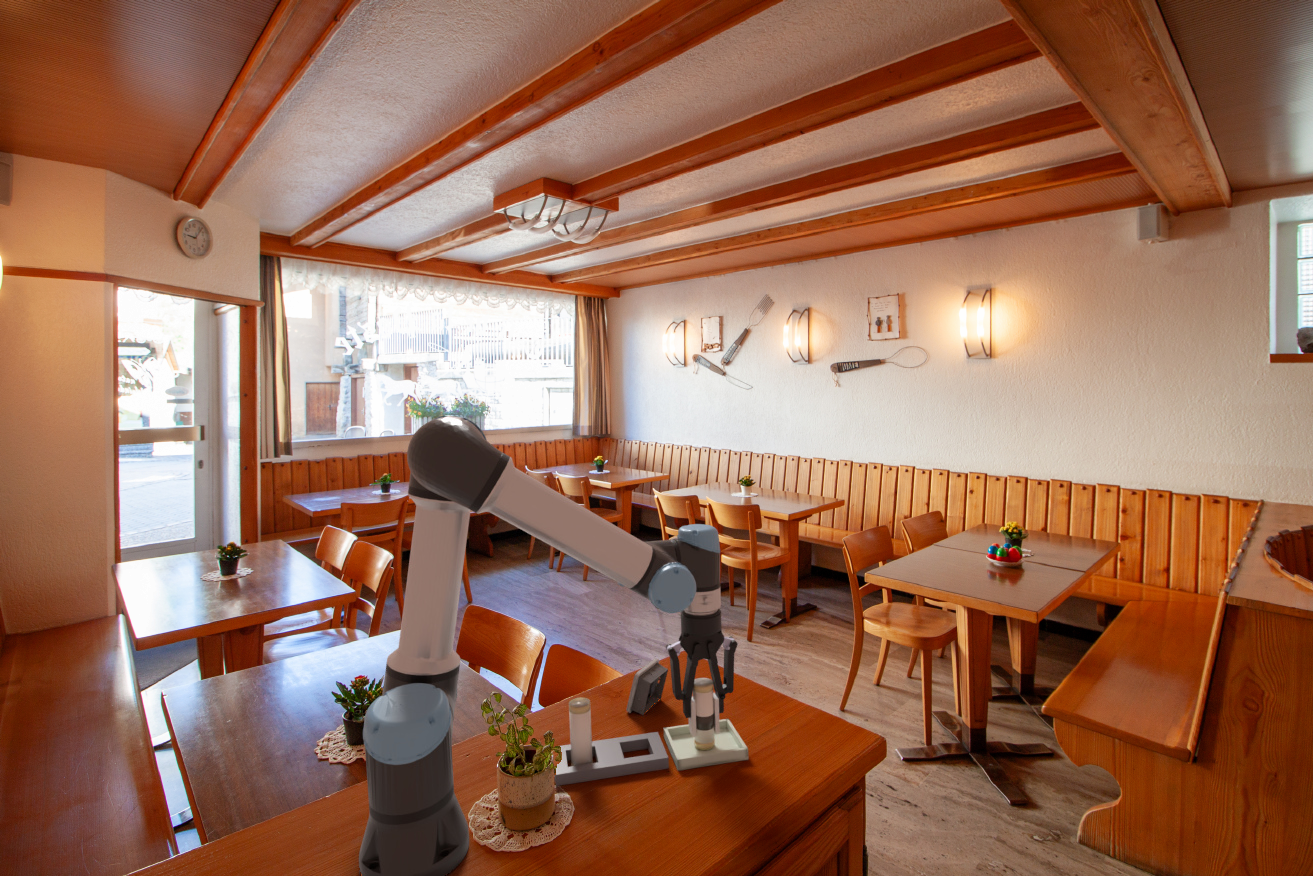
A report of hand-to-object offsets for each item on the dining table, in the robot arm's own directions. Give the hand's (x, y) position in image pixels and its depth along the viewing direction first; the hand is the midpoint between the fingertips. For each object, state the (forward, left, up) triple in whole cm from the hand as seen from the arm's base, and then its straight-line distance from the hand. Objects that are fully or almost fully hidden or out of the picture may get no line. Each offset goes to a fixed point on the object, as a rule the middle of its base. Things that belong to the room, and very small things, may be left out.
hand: (704, 730), depth 120 cm
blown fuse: (0, 0, -3) cm, 3 cm away
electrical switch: (-7, +19, -4) cm, 21 cm away
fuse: (-23, 0, -3) cm, 23 cm away
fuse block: (-18, 0, -3) cm, 18 cm away
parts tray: (0, 0, -3) cm, 3 cm away
